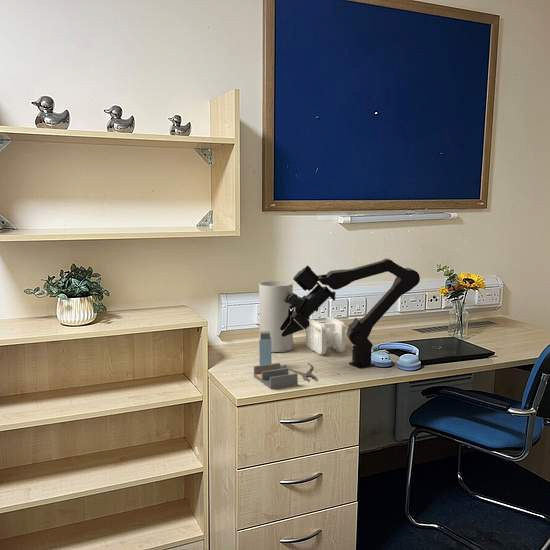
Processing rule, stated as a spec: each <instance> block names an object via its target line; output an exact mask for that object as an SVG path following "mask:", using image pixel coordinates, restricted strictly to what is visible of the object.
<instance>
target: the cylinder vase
mask: <svg viewBox="0 0 550 550" xmlns="http://www.w3.org/2000/svg"><path fill="white" fill-rule="evenodd" d="M293 287H294V285H293V282H292V281H285V280H284V281H281V280H280V281H279V280H278V281H277V280H273V281H271V280H270V281H268V280H267V281H262V282H259V283H258V288H259V289H258V297H259V298H258V300H259V305H258V306H259V309H258V310H259V332H260V331H270V337H271V352H281V353H287V352H290V351H291V350H292V349H293V348H294V333H292V334H290V335H287V336H285V337H283V336H282V335H281V334H282V332H283V331H284V330H285V329H284V330H281V329H280V327H281V325H282V324H283V322H284V321H285V319H286V318H287V316H288V308H289V306H290V305H291V304H289V303H286V302H284V301H283V298H284V296H285V294H286V292H287V291H288V292H290V293H294V292H293V291H294V290H293V289H294V288H293ZM289 309H290V308H289Z"/></svg>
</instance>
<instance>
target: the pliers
mask: <svg viewBox="0 0 550 550" xmlns="http://www.w3.org/2000/svg"><path fill="white" fill-rule="evenodd" d="M306 364H307V365H308V366H309V365H310V366H309V367H310V368H309V369H308V370H307V372H301V371H300V370H299V371H298V370H295V369H292V368H289V367H287V366H286V364H284V365H283V367H284V368H288V369H289V372H293V373H294V374H295V373H297V374H298V375H300V376H301V377H302V379H303V381H306V382H307V381H308V382H309V378H311V379H312V380H313V381H316V382H317V381H318V378H317V376H316V375H315V374H313V373H312V371H313V369H314V366H313V365H312V364H311V363H309V362H307V363H306Z"/></svg>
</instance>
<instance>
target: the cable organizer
mask: <svg viewBox="0 0 550 550" xmlns="http://www.w3.org/2000/svg"><path fill="white" fill-rule="evenodd" d="M305 345H306V346H307V348H308V349H309V350H311V351H314V352H315V353H316V354H317V355H319V356H322V355H324V354H326V352H327V351H328V348H330V347H331V349H333V350H335V351H336V352H338V353H342V352H345V350H346V325H345V322H344V321H341V320H339V319H337V318H335V317H332V316H326V317H325V322H322V323H321V322H319V321H317V320H315V319H313V318H310V319H309V327H308V328H307V329H305Z"/></svg>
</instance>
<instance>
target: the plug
mask: <svg viewBox="0 0 550 550" xmlns="http://www.w3.org/2000/svg"><path fill="white" fill-rule="evenodd" d="M258 339H259V340H258V342H259V346H258V347H259V348H258V350H259V351H258V352H259V353H258V354H259V357H258V358H259V360H258V361H259V366H260V365H267V364H273V363H272V353H271V337H270V331H260V330H259V337H258Z"/></svg>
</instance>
